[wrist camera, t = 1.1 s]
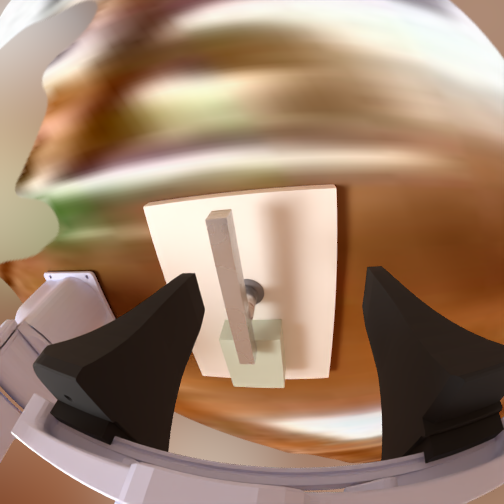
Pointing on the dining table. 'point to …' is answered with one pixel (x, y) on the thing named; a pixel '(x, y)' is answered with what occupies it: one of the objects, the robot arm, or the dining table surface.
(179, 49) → the dining table surface
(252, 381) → the cover
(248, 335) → the t key
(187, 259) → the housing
